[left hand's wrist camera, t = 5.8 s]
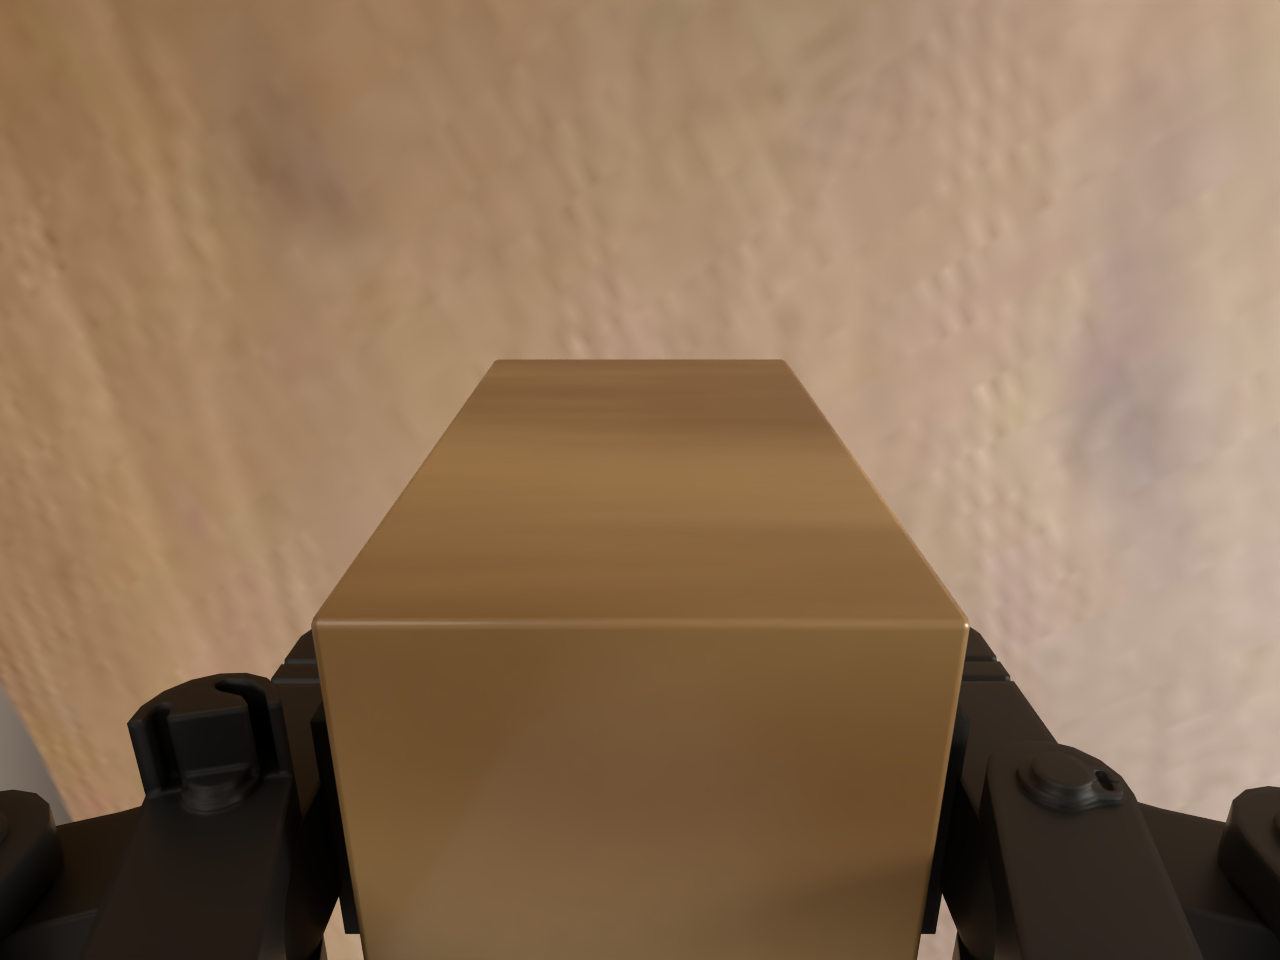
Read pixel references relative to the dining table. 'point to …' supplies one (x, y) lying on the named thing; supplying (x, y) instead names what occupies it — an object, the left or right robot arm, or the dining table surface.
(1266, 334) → the dining table surface
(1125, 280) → the dining table surface
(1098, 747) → the dining table surface
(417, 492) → the bar
